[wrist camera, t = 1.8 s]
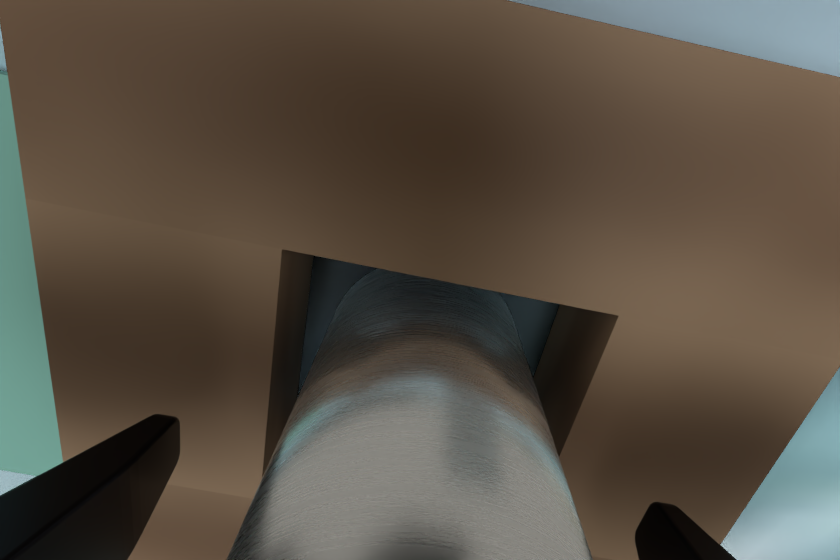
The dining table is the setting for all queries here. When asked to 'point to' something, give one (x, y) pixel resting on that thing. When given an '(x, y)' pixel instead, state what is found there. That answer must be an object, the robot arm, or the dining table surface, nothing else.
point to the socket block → (427, 230)
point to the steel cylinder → (415, 439)
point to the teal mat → (21, 324)
